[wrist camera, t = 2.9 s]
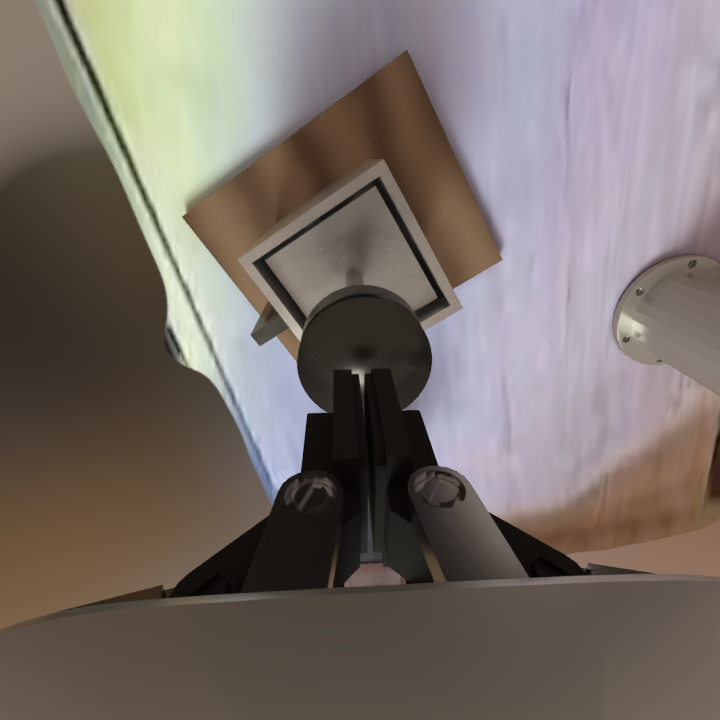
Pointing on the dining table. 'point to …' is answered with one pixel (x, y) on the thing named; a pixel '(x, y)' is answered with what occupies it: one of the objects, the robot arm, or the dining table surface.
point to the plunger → (357, 300)
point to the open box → (280, 304)
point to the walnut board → (337, 157)
